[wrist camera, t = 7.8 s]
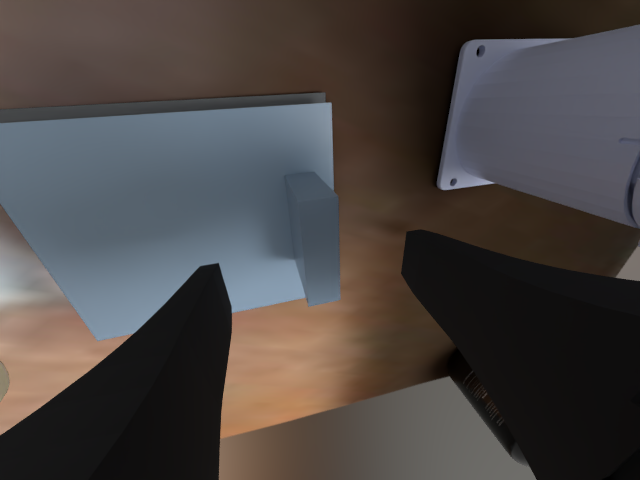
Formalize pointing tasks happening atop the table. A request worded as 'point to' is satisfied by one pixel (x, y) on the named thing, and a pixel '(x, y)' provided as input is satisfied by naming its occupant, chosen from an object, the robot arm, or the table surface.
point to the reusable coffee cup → (3, 381)
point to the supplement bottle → (483, 405)
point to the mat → (154, 107)
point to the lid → (177, 207)
